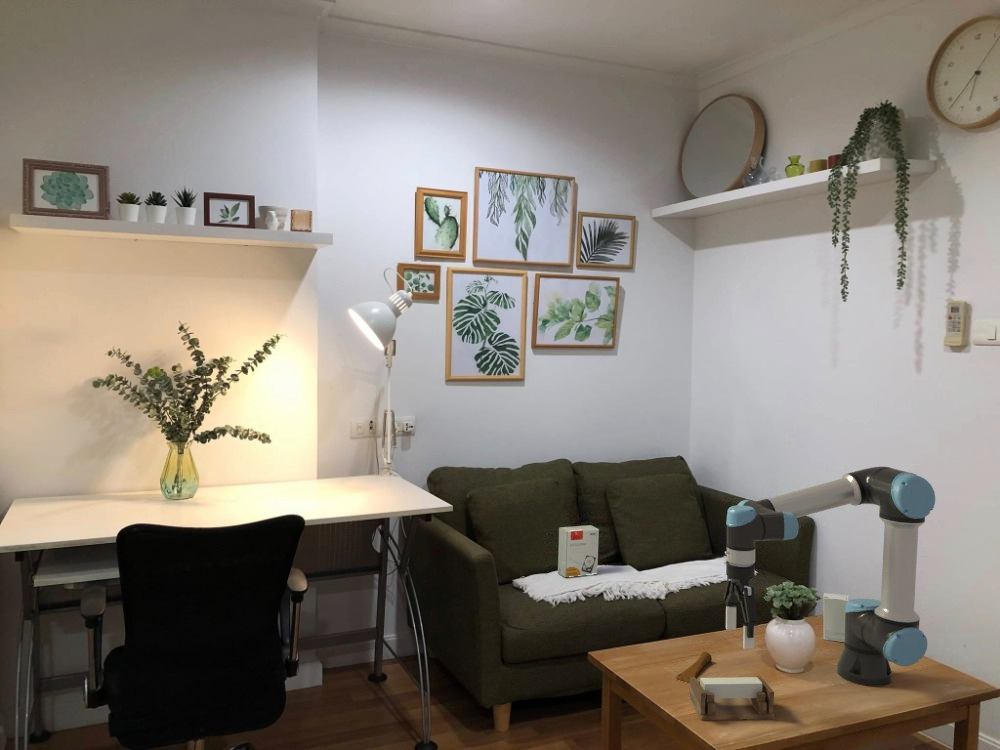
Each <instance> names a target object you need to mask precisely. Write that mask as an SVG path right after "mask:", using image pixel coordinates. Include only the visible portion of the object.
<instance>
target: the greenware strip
mask: <svg viewBox="0 0 1000 750" xmlns="http://www.w3.org/2000/svg"><path fill="white" fill-rule="evenodd" d="M699 679H700V680H699V682H700V686H701V687H702V689H703V690H704V691H705V699H706V693H714V698H757V692H762V682H761V681H760V680H759V679H758V678H757V677H756V676H753V677H752V676H751V677H749V676H748V677H747V676H746V677H744V676H742V677H739V676H738V677H735V676H734V677H700V678H699Z"/></svg>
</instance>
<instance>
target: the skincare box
mask: <svg viewBox="0 0 1000 750" xmlns="http://www.w3.org/2000/svg"><path fill="white" fill-rule="evenodd" d="M822 599H823V600H822V601H823V606H822V609H823V610H822V611H823V612H822V613H823V619H822V621H823V631H822V632H823V633H822V634H823V640H824V641H833V642H838V643H839V642H840V643H844V641H845V609H846V603H847V602H848V601H849V600H850V595H849V594H842V593H841V594H840V593H839V594H838V593H828V592H823V598H822Z"/></svg>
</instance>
